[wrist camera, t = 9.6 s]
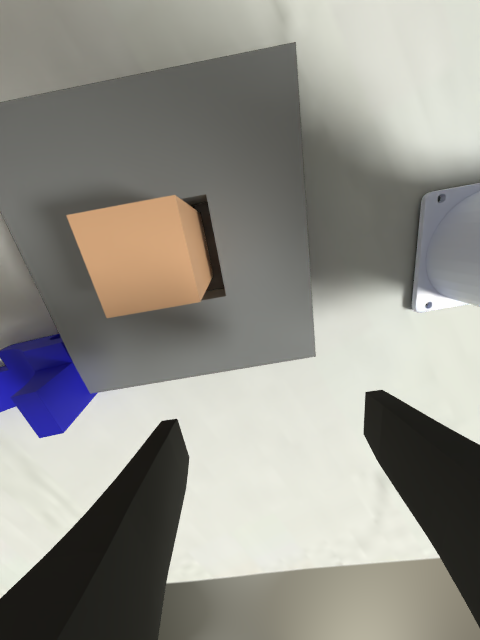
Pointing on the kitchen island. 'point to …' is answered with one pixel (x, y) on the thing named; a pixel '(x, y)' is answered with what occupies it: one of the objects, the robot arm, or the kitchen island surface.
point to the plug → (144, 254)
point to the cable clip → (42, 384)
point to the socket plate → (160, 181)
